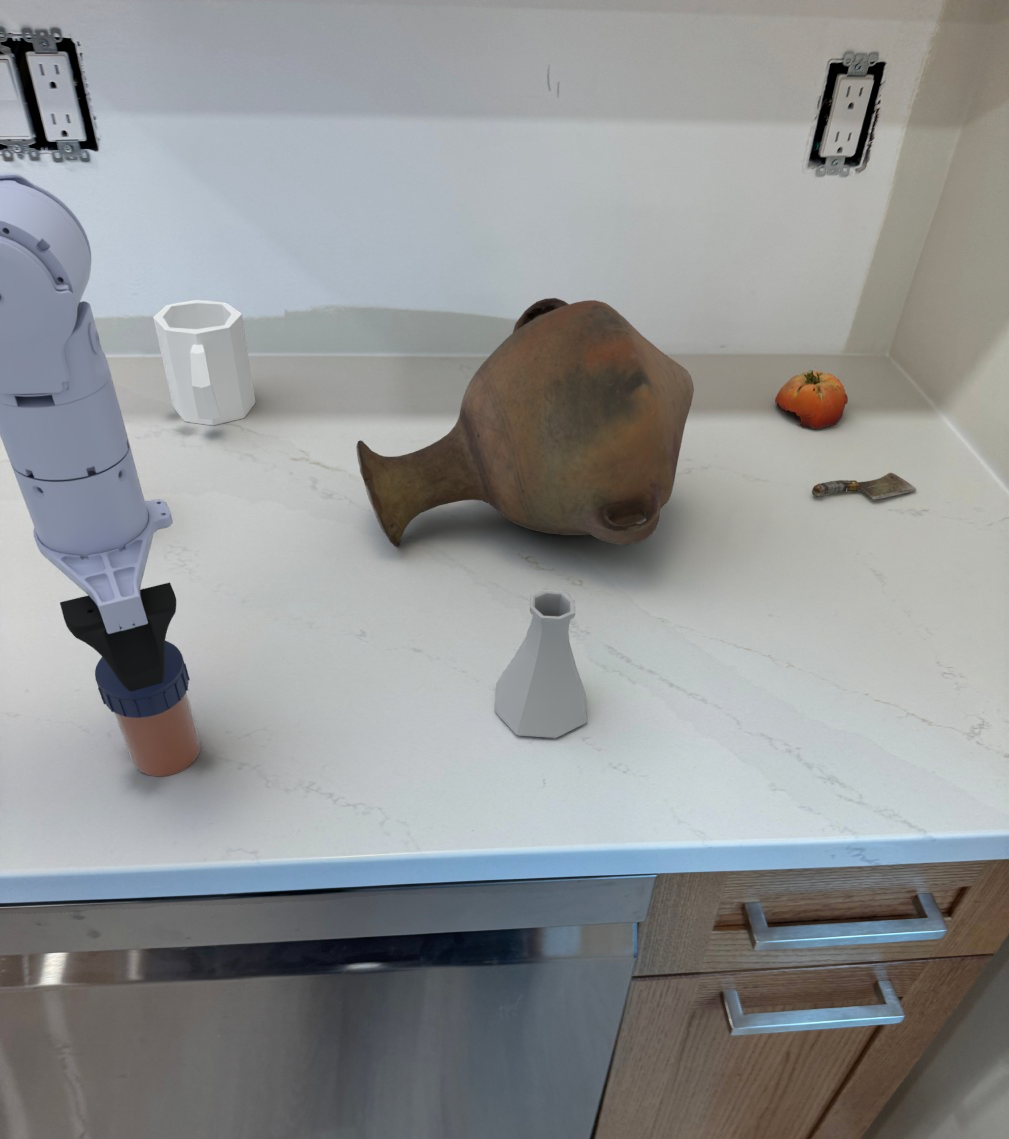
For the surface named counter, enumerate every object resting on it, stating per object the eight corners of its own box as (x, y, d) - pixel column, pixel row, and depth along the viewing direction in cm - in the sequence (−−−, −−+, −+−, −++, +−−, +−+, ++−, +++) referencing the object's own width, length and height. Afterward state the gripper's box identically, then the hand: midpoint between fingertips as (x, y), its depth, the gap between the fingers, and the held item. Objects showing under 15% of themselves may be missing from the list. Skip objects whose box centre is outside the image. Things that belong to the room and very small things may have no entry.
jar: (139, 785, 60) (109, 705, 54) (125, 738, 63) (96, 658, 57) (208, 763, 62) (186, 683, 56) (191, 718, 64) (169, 638, 59)
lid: (111, 729, 55) (102, 706, 54) (95, 673, 58) (87, 650, 57) (198, 703, 57) (192, 681, 56) (178, 650, 60) (172, 628, 59)
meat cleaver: (924, 503, 91) (902, 478, 94) (928, 493, 90) (906, 468, 94) (815, 502, 89) (797, 477, 93) (819, 492, 88) (801, 466, 92)
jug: (666, 468, 93) (382, 523, 92) (657, 265, 82) (334, 326, 81) (736, 551, 76) (389, 620, 75) (735, 310, 65) (329, 387, 64)
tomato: (784, 374, 106) (835, 345, 100) (816, 421, 108) (868, 394, 102) (756, 409, 102) (807, 380, 96) (790, 456, 104) (842, 431, 98)
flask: (508, 749, 64) (517, 646, 57) (481, 680, 69) (486, 577, 62) (602, 731, 66) (622, 630, 59) (569, 665, 71) (584, 564, 64)
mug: (174, 390, 99) (154, 301, 92) (254, 386, 100) (240, 298, 93) (171, 446, 90) (149, 352, 83) (258, 440, 92) (244, 348, 85)
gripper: (183, 508, 43) (229, 704, 52) (124, 377, 52) (172, 564, 61) (24, 543, 40) (102, 742, 50) (-10, 398, 49) (62, 590, 59)
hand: (133, 646), depth 55 cm, fingers open, 6 cm apart
